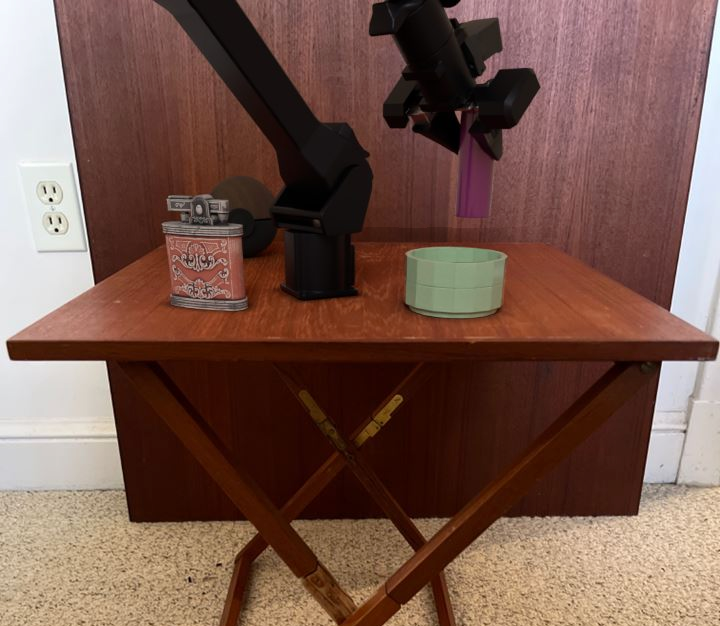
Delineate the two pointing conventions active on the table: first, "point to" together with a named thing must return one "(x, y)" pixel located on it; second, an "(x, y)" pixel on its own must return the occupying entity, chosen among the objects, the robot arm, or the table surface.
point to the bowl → (454, 281)
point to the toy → (248, 211)
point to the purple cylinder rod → (473, 174)
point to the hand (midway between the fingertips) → (483, 157)
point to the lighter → (205, 255)
